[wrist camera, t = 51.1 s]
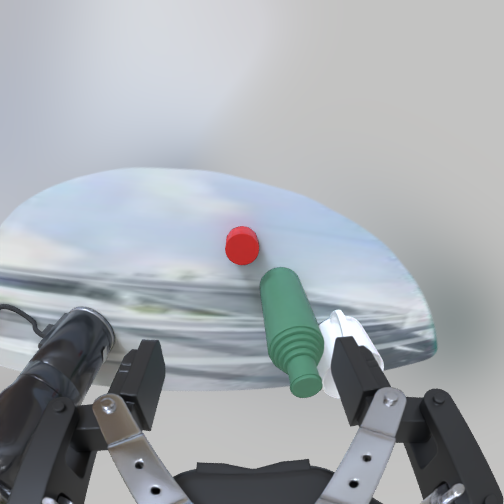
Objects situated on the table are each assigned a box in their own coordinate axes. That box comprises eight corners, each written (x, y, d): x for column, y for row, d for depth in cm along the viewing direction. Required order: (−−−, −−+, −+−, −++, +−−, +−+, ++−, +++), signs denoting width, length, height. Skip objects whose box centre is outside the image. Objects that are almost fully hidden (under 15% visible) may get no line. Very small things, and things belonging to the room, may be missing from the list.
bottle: (259, 303, 41) (271, 410, 23) (259, 267, 39) (275, 366, 21) (298, 302, 41) (333, 405, 23) (301, 266, 39) (345, 360, 21)
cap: (261, 249, 38) (263, 258, 35) (233, 259, 39) (232, 269, 36) (251, 221, 37) (252, 228, 34) (222, 232, 37) (220, 240, 34)
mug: (358, 355, 46) (376, 391, 37) (307, 362, 45) (319, 403, 37) (367, 294, 41) (393, 328, 33) (310, 301, 41) (326, 338, 33)
